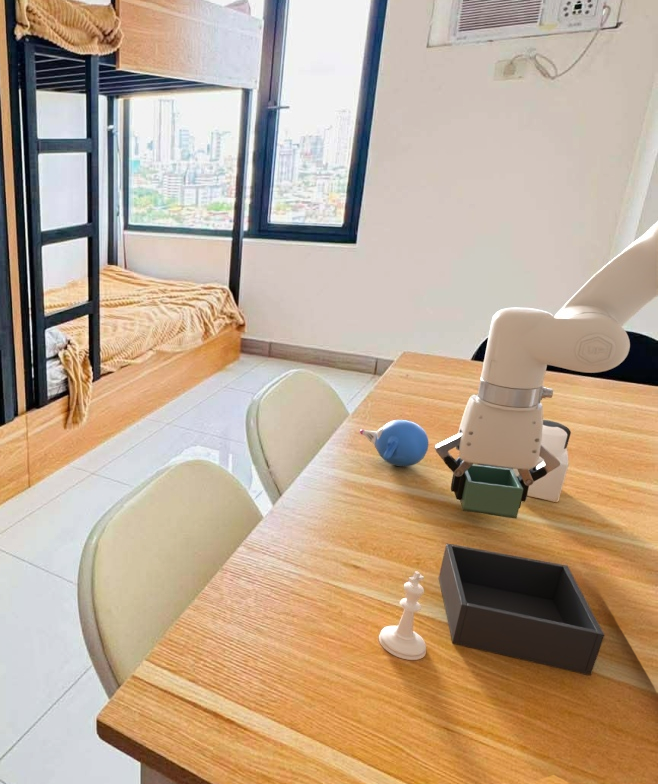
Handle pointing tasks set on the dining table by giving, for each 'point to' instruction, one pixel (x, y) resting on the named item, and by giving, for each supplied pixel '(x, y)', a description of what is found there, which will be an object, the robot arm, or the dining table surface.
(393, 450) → the blue mole toy
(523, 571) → the large bin
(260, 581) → the dining table surface
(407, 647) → the chess piece
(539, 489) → the medicine bottle
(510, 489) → the small bin
